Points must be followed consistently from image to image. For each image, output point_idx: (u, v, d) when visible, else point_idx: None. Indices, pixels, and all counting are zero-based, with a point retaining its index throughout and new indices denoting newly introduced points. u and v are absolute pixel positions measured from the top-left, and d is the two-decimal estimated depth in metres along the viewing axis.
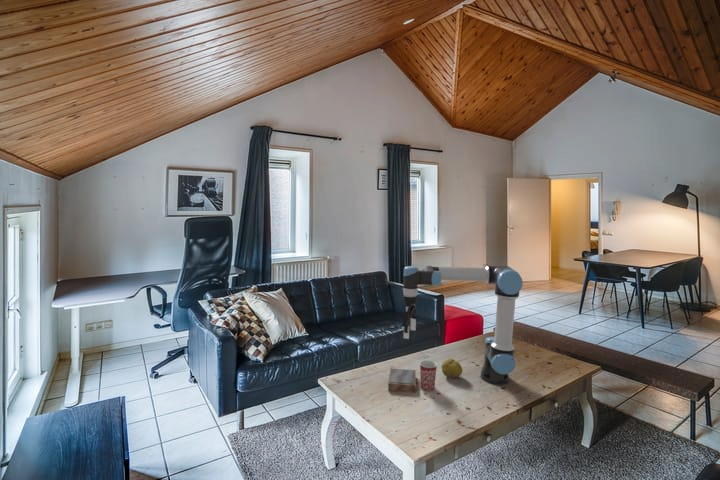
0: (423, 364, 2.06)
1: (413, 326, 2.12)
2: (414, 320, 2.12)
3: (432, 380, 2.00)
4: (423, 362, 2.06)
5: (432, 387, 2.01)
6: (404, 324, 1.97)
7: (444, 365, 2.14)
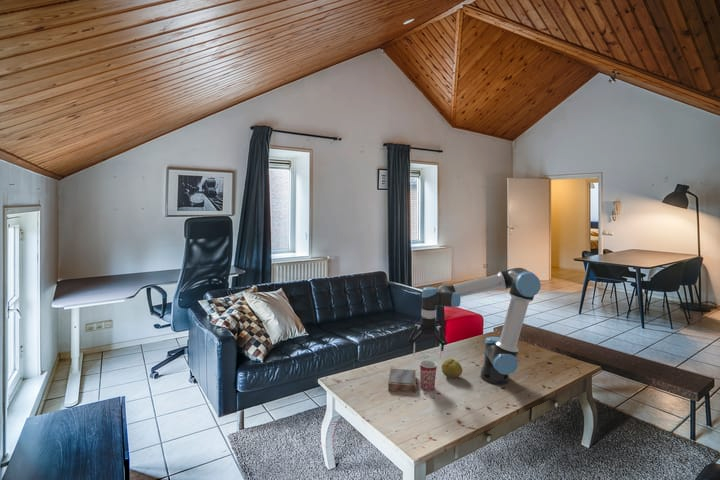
0: (423, 364, 2.06)
1: (439, 352, 2.03)
2: None
3: (432, 380, 2.00)
4: (423, 362, 2.06)
5: (432, 387, 2.01)
6: None
7: (444, 365, 2.14)
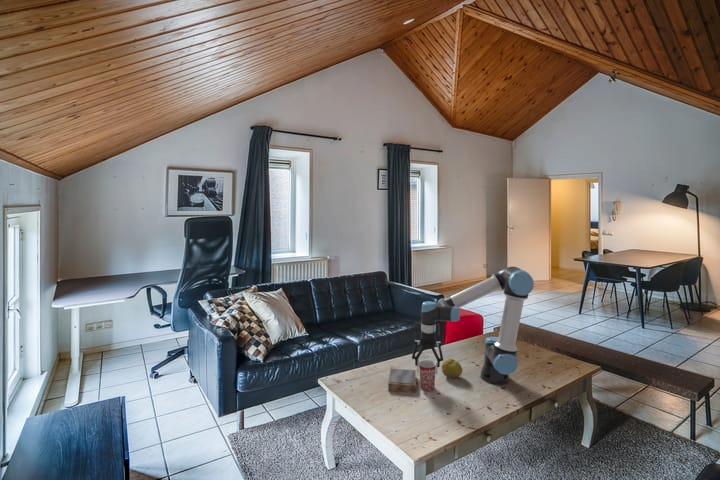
0: (422, 364, 2.06)
1: None
2: (436, 363, 2.03)
3: (432, 380, 2.00)
4: (422, 362, 2.06)
5: (432, 387, 2.01)
6: None
7: (444, 365, 2.14)
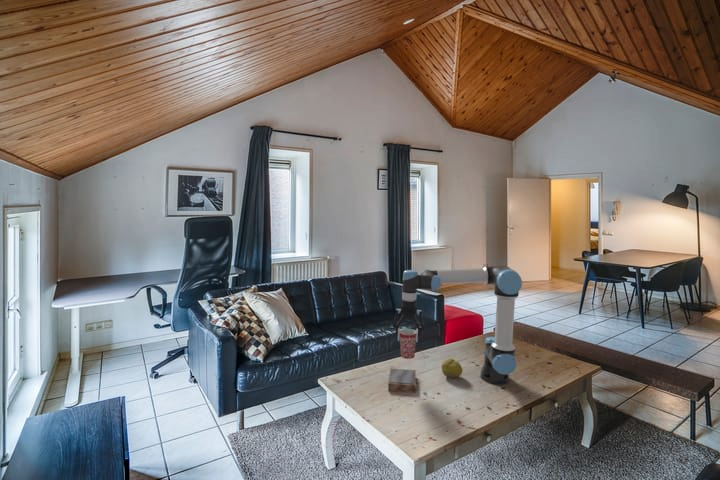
0: (403, 333, 2.06)
1: (416, 337, 2.04)
2: (416, 331, 2.03)
3: (412, 347, 2.01)
4: (403, 331, 2.06)
5: (412, 355, 2.01)
6: (393, 324, 2.06)
7: (444, 365, 2.14)
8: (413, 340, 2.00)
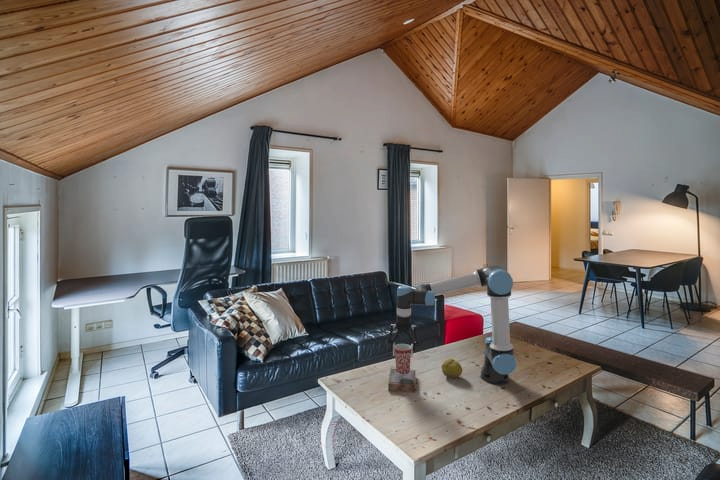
0: (398, 348, 2.08)
1: (411, 352, 2.06)
2: (411, 346, 2.05)
3: (407, 363, 2.02)
4: (398, 346, 2.08)
5: (407, 370, 2.03)
6: (388, 339, 2.07)
7: (444, 365, 2.14)
8: (408, 355, 2.02)
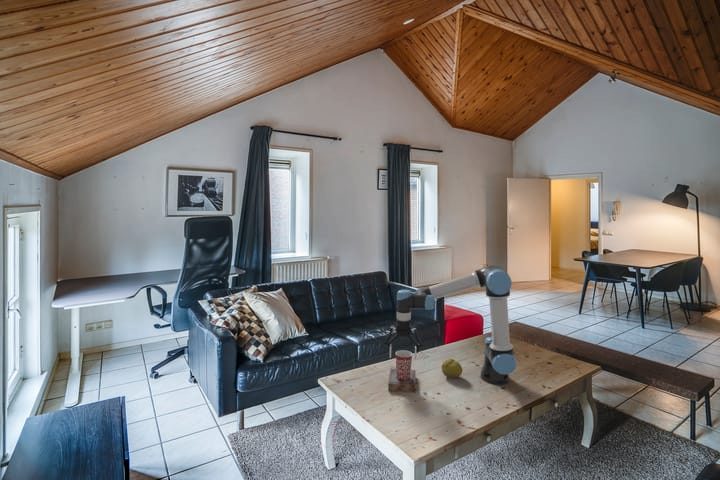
0: (399, 354, 2.08)
1: None
2: (415, 348, 2.05)
3: (407, 369, 2.02)
4: (399, 352, 2.08)
5: (407, 376, 2.03)
6: None
7: (444, 365, 2.14)
8: (409, 362, 2.02)
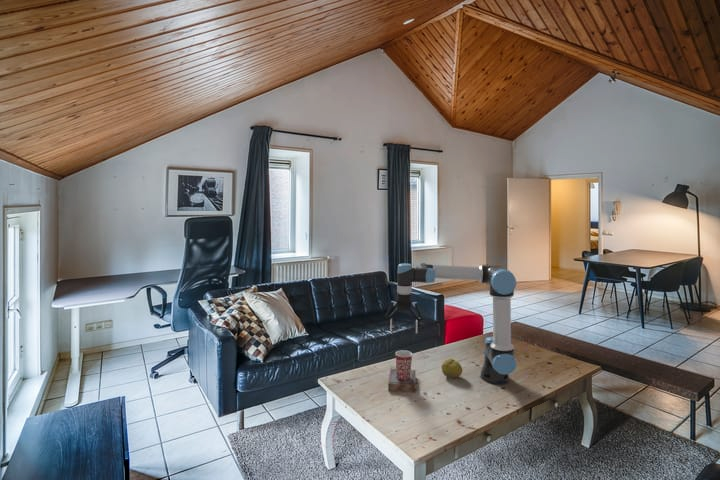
0: (399, 354, 2.08)
1: None
2: (416, 322, 2.03)
3: (407, 369, 2.02)
4: (399, 352, 2.08)
5: (407, 376, 2.03)
6: (385, 315, 2.06)
7: (444, 365, 2.14)
8: (409, 362, 2.02)
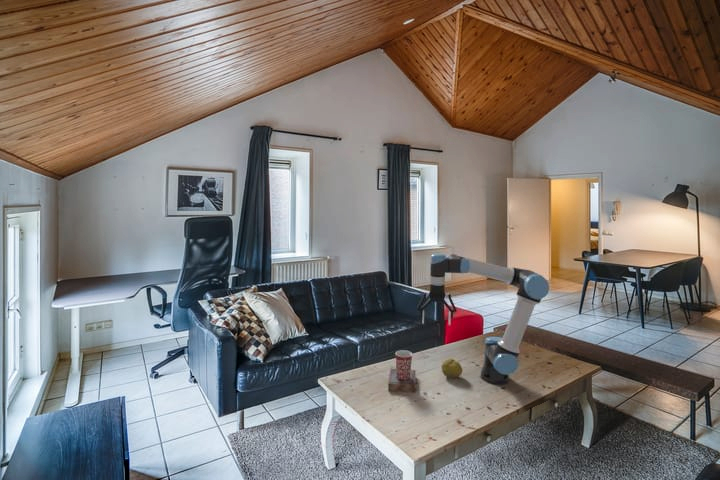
0: (399, 354, 2.08)
1: None
2: (449, 314, 1.99)
3: (407, 369, 2.02)
4: (399, 352, 2.08)
5: (407, 376, 2.03)
6: (417, 307, 2.02)
7: (444, 365, 2.14)
8: (409, 362, 2.02)
